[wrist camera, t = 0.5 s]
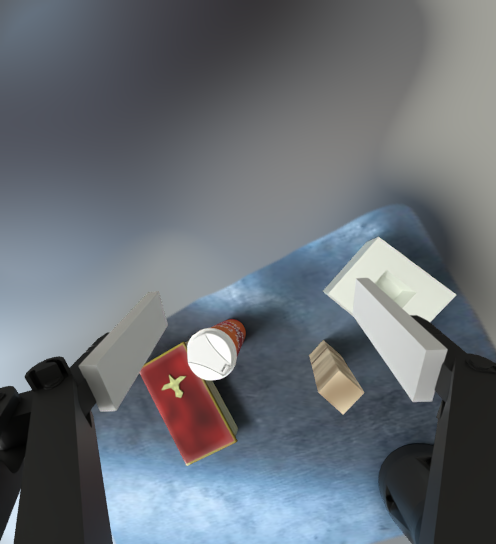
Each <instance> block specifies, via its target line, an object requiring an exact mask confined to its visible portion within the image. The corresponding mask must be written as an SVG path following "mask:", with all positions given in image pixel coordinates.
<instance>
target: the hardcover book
mask: <svg viewBox="0 0 496 544" xmlns="http://www.w3.org/2000/svg"><path fill="white" fill-rule="evenodd" d="M188 342H189V341H187V342H182V343H181V344H179V345H177V346H175V347H174V348H172V349H170V350H169V351H167V352H165V353H163V354H162V355H160V356H158V357H157V358H155V359H153V360H151V361H150V362H147V363H146V364H144V366H143V367H142V369H141V371H140V372H139V373H140V375H141V377H142V379H143V381H144V383H145V384H146V386H147V388H148V390H149V392H150V394H151V396H152V398H153V400H154V402H155V404H156V406H157V408H158V410H159V412H160V414H161V416H162V418H163V420H164V422H165V424H166V426H167V428H168V430H169V432H170V434H171V436H172V438H173V440H174V442H175V444H176V446H177V448H178V449H179V451H180V453H181V455H182V457H183V459H184V461H185V463H186V465H187V466H188V465H190V464H192V463H194V462H196V461H198V460H200V459H203V458H205V457H207V456H209V455H211V454H213V453H215V452H217V451H219V450H221V449H223V448H225V447H227V446H229V445H231V444H233V443H236V442H237V439H236V434H237V430H238V427H237V425H236V424H235V422H234V420H233V418H232V416H231V414H230V412H229V411H228V409H227V407H226V405H225V403H224V401H223V399H222V398H221V396H220V394H219V392H218V390H217V388H216V387H215V385H214V383H213V381H212V380H205V379H202V378H200V377H198V376H197V375H196V374H194V372H193V371H192V370H191V368H190V366H189V364H188V357H187V345H188Z"/></svg>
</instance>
